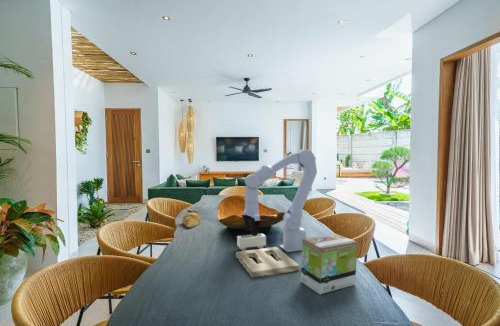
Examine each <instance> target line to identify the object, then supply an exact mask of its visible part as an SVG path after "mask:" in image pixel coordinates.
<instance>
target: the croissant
mask: <svg viewBox="0 0 500 326" xmlns="http://www.w3.org/2000/svg"><path fill="white" fill-rule="evenodd" d="M200 220H201V218H200V215H199V214H198V213H196V212H194V211H191V212H189V213H186V214H184V216H183V217H182V218H181V221H182V223H183V225H184V226H186V228H194V227H196V226H198V225H200Z"/></svg>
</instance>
